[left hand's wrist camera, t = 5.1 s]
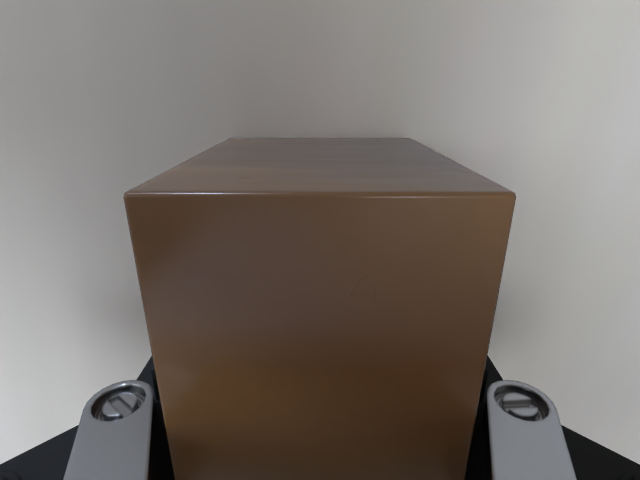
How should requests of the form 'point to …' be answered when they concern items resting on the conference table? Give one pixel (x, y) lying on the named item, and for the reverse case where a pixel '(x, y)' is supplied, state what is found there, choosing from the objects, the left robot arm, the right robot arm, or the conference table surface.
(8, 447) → the conference table surface
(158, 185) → the post
